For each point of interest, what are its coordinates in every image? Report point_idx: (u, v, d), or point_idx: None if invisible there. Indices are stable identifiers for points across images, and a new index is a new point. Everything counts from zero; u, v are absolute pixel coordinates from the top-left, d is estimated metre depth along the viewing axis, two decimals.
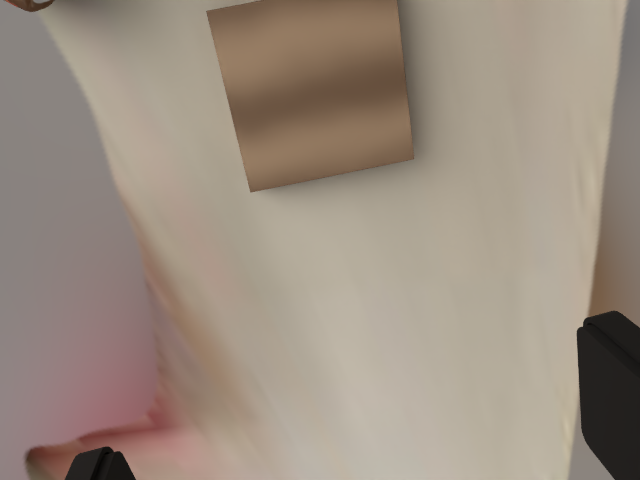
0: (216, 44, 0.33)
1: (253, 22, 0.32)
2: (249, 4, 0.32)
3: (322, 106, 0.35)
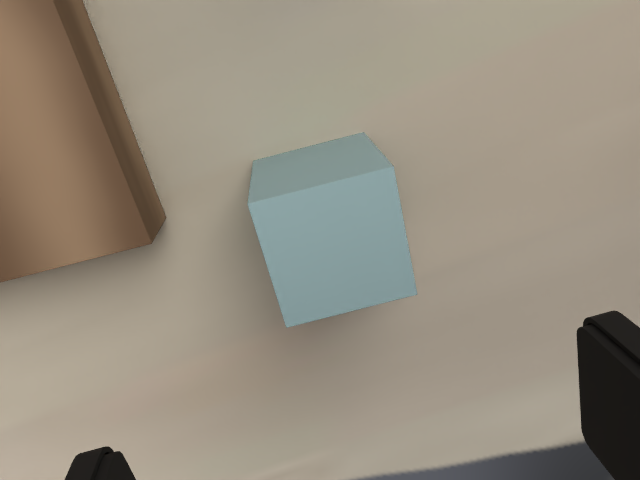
0: None
1: None
2: None
3: None
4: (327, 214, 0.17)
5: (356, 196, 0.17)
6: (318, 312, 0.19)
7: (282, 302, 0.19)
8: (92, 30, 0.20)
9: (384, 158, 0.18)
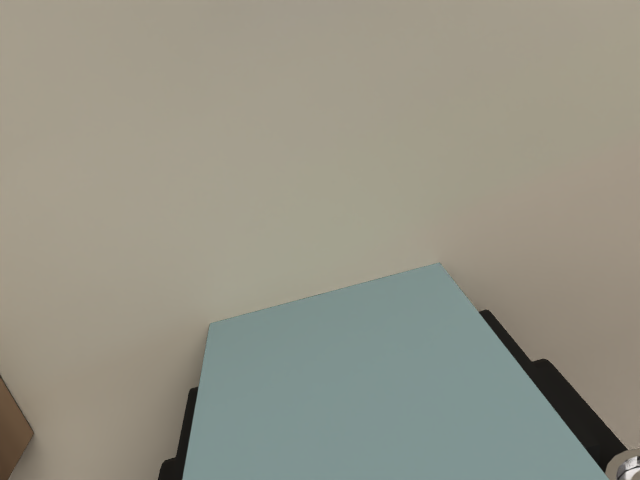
0: None
1: None
2: None
3: None
4: None
5: None
6: None
7: None
8: None
9: (557, 421, 0.06)
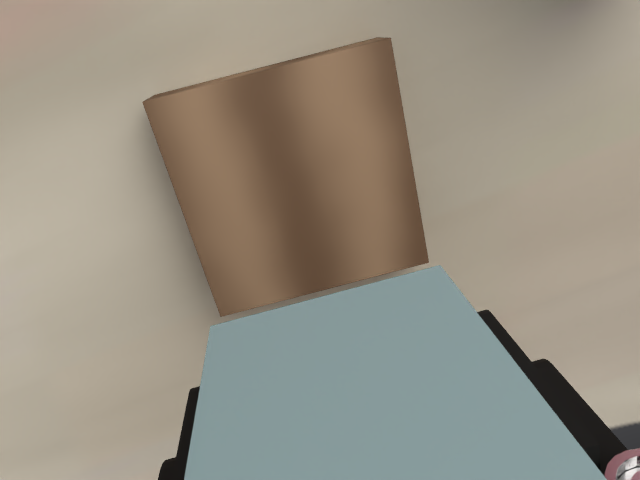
0: (350, 51, 0.24)
1: (378, 101, 0.25)
2: (398, 96, 0.25)
3: (278, 197, 0.26)
4: None
5: None
6: None
7: None
8: None
9: (557, 425, 0.06)
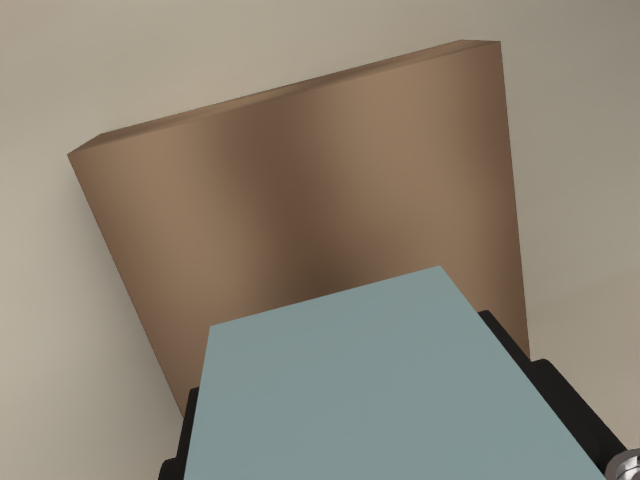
0: (429, 64, 0.14)
1: (471, 149, 0.15)
2: (506, 140, 0.15)
3: (301, 301, 0.16)
4: None
5: None
6: None
7: None
8: None
9: (557, 425, 0.06)
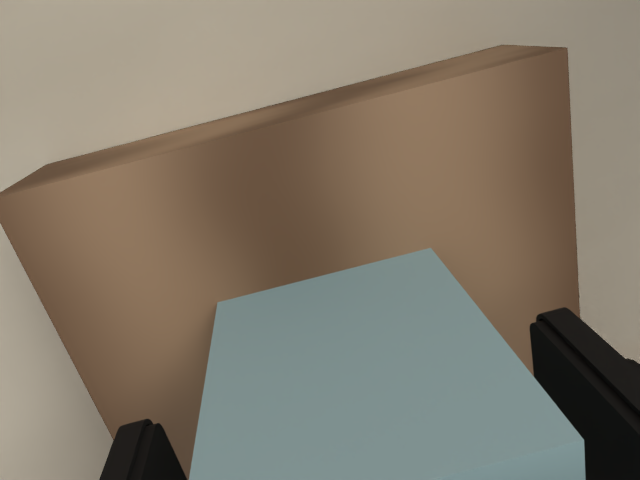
0: (472, 79, 0.10)
1: (524, 188, 0.11)
2: (568, 175, 0.11)
3: None
4: None
5: None
6: None
7: None
8: None
9: (529, 379, 0.07)
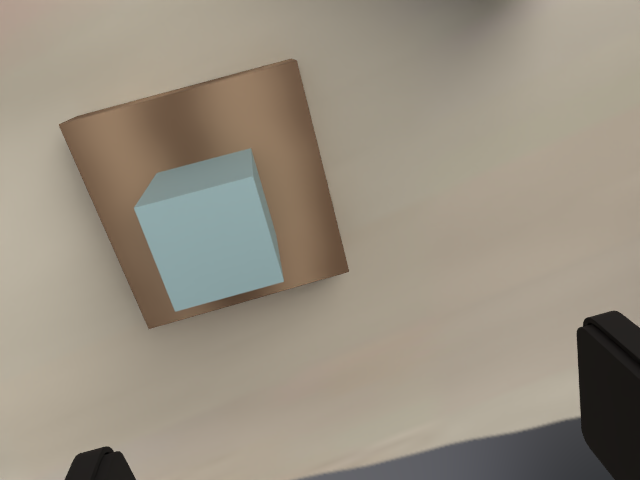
0: (258, 73, 0.25)
1: (289, 120, 0.26)
2: (308, 115, 0.26)
3: None
4: (201, 215, 0.21)
5: (224, 201, 0.21)
6: (201, 298, 0.23)
7: (169, 290, 0.22)
8: None
9: (250, 169, 0.22)
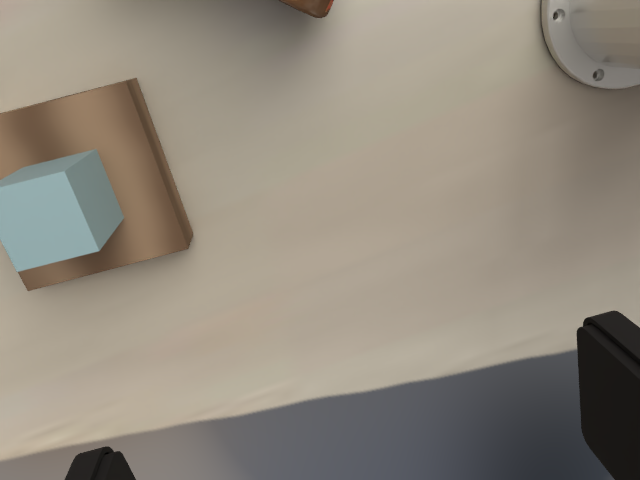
0: (96, 91, 0.33)
1: (125, 127, 0.34)
2: (140, 123, 0.34)
3: None
4: (28, 199, 0.29)
5: (44, 189, 0.29)
6: (36, 262, 0.30)
7: (11, 255, 0.30)
8: (156, 134, 0.37)
9: (70, 166, 0.30)
